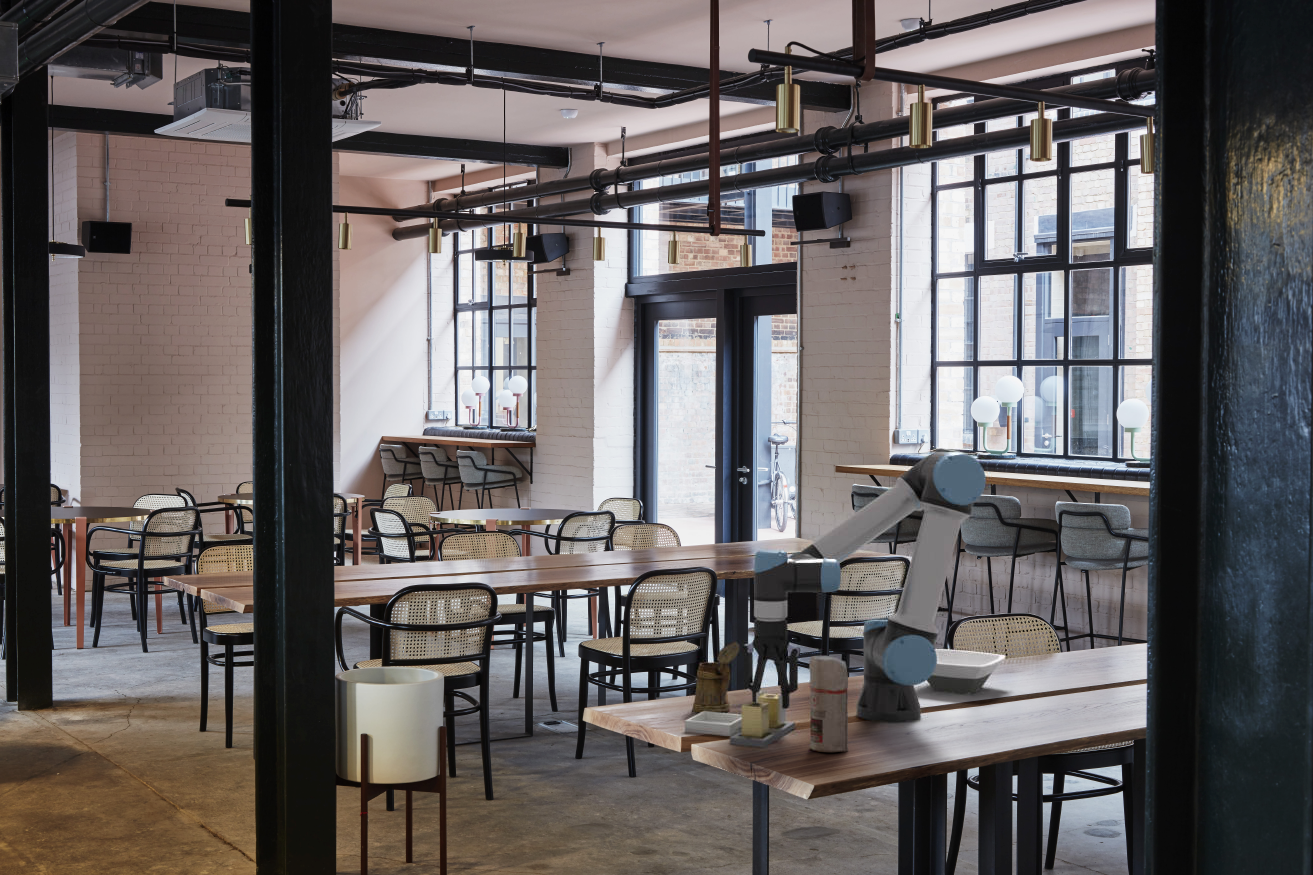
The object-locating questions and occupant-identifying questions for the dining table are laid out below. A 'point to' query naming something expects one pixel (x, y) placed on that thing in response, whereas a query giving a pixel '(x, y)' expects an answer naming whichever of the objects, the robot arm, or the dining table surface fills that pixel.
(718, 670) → the wooden mug
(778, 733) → the gray rectangular tray
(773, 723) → the brass nut
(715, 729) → the tray
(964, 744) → the dining table surface
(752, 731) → the brass nut
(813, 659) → the spray can
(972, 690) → the bowl
